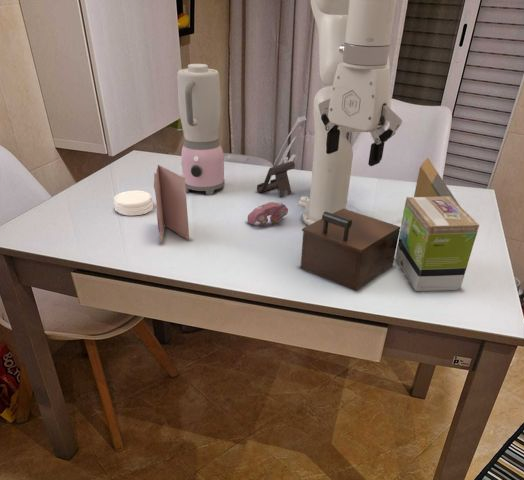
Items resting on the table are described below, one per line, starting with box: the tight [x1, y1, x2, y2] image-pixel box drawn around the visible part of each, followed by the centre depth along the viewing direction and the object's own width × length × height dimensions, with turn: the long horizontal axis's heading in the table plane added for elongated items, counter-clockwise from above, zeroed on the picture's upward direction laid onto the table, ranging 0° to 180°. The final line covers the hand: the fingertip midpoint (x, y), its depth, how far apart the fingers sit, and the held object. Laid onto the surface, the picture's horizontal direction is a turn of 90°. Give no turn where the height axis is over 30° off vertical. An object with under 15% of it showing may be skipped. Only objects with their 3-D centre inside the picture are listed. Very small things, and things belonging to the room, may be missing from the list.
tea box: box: [394, 196, 480, 292], centre depth 103 cm, size 15×10×15 cm, turn 5°
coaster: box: [113, 190, 154, 217], centre depth 133 cm, size 10×10×4 cm
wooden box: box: [300, 229, 401, 292], centre depth 107 cm, size 15×15×9 cm
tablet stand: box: [256, 160, 296, 198], centre depth 144 cm, size 9×8×8 cm
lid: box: [301, 208, 401, 253], centre depth 103 cm, size 15×15×5 cm
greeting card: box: [153, 164, 190, 245], centre depth 117 cm, size 11×7×15 cm, turn 5°
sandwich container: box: [413, 157, 461, 207], centre depth 125 cm, size 9×15×15 cm, turn 64°
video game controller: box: [246, 201, 289, 226], centre depth 126 cm, size 10×5×7 cm, turn 118°
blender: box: [176, 63, 226, 196], centre depth 137 cm, size 16×12×32 cm
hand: (352, 158), depth 95 cm, fingers open, 9 cm apart
